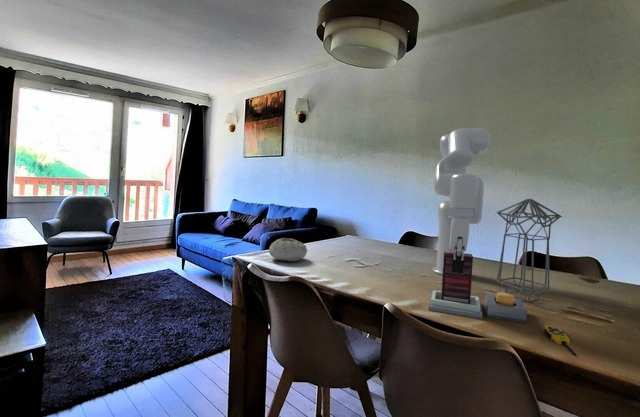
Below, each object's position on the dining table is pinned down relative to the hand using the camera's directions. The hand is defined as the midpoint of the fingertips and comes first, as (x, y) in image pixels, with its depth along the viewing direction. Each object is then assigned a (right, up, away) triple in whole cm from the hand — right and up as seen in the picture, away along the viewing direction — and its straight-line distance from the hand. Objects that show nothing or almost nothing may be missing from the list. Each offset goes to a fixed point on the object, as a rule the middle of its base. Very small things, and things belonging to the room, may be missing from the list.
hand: (457, 269), depth 109 cm
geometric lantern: (+28, -12, +13) cm, 33 cm away
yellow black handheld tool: (+18, -15, -21) cm, 32 cm away
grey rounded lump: (-59, -6, +55) cm, 80 cm away
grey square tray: (-1, -12, +1) cm, 12 cm away
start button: (+13, -10, -4) cm, 17 cm away
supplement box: (0, -11, +1) cm, 11 cm away
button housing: (+13, -13, -4) cm, 19 cm away
